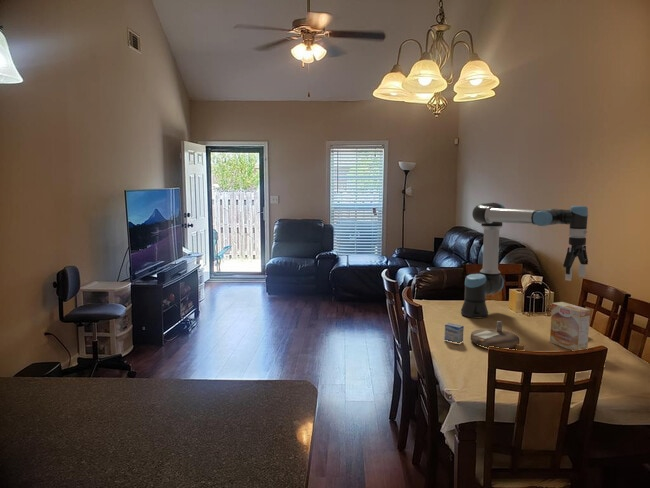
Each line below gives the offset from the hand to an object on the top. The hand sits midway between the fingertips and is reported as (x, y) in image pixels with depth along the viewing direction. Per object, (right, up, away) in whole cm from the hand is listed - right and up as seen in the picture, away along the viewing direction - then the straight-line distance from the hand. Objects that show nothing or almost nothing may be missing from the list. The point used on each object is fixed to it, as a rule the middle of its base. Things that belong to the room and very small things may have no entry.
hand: (574, 278), depth 227 cm
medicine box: (-64, -31, -8) cm, 71 cm away
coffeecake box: (-12, -31, -15) cm, 36 cm away
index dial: (-45, -29, -11) cm, 54 cm away
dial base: (-43, -31, -13) cm, 55 cm away
